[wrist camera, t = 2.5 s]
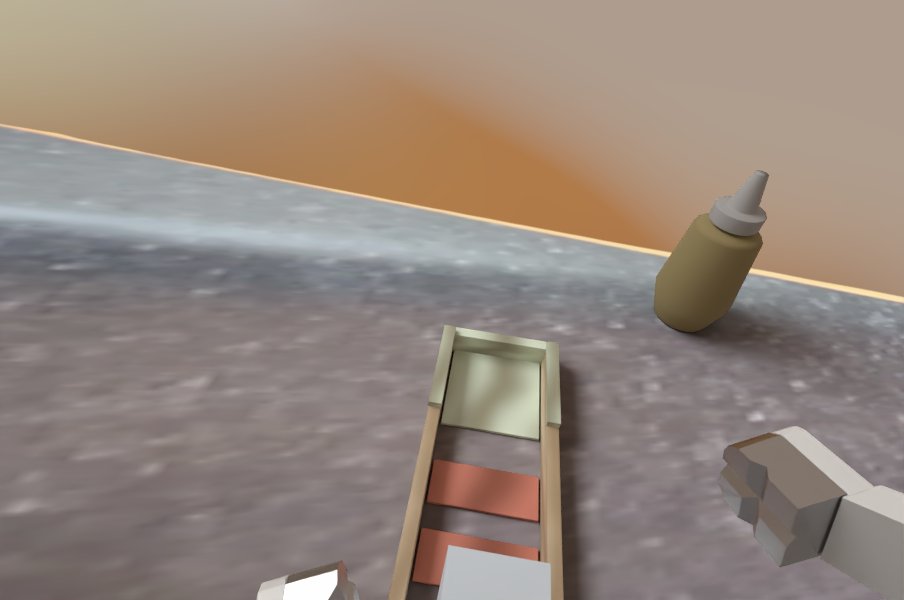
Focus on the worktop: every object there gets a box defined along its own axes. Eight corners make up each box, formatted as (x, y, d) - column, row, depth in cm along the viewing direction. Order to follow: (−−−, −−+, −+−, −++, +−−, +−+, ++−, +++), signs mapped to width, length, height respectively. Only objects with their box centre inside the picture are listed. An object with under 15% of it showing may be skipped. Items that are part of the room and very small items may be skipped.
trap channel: (351, 784, 25) (347, 782, 23) (443, 342, 48) (445, 321, 46) (558, 827, 25) (574, 829, 23) (551, 359, 48) (558, 339, 46)
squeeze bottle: (653, 282, 59) (722, 144, 46) (720, 310, 56) (813, 171, 43) (634, 319, 53) (707, 175, 41) (708, 352, 51) (809, 208, 38)
